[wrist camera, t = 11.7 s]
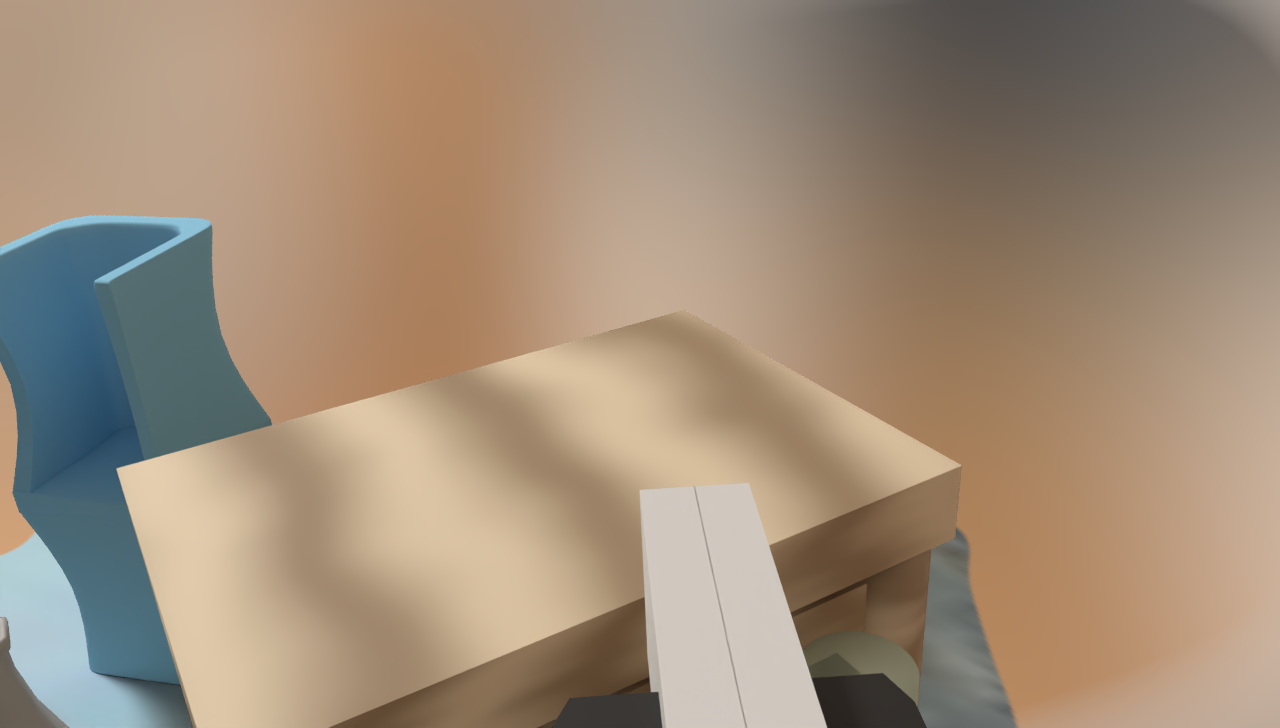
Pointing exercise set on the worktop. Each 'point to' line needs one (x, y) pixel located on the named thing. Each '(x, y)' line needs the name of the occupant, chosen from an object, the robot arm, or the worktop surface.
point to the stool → (516, 532)
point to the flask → (19, 694)
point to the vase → (112, 402)
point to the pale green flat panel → (862, 659)
